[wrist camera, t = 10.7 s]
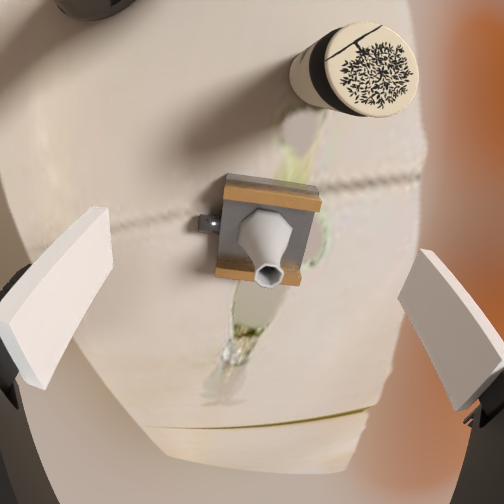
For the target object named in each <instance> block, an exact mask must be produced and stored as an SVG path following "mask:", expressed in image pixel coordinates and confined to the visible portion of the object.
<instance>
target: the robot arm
mask: <svg viewBox="0 0 504 504" xmlns="http://www.w3.org/2000/svg"><path fill="white" fill-rule="evenodd" d="M53 1H54V2H55V3H56V4H57V6H58V8H59V9H60V10H61V11H62V12H63V13H64V14H66V15H67V16H69V17H72V18H76V19H79V20H84V21H93V20H99V19H103V18H106V17H109V16H111V15H114V14H116V13H118V12H119V11H121V10H123V9H124V8H126V7H127V6H129V5H130V4H131V3H133V2H134V1H135V0H53ZM113 267H114V266H113V258H112V248H111V238H110V226H109V212H108V208H105V207H94V206H92V207H91V208H89V209H88V210H87V211H86V212H85V213H84V214H83V215H82V216H81V217H80V218H78V219H77V220H76V221H75V222H74V223H73V224H72V225H71V226H70V227H69V228H68V229H67V230H66V231H65V232H64V233H63V234H62V235H61V236H60V237H59V238H58V239H57V240H56V241H55V242H54V243H53V244H52V245H51V246H50V247H49V248H48V249H47V250H46V251H45V252H44V253H43V254H42V255H41V256H40V257H39V258H38V259H37V260H36V261H35V262H34V263H33V264H28V265H27V266H25V267H24V268H22V269H21V270H19V271H18V272H17V273H16V274H15V275H14V276H13V277H12V278H11V280H10V282H9V283H7V284H6V285H5V286H4V287H3V290H2V291H0V504H60V503H59V501H58V500H57V497H56V495H55V493H54V491H53V489H52V487H51V484H50V482H49V480H48V478H47V475H46V473H45V471H44V468H43V466H42V463H41V460H40V458H39V455H38V453H37V450H36V447H35V444H34V441H33V438H32V435H31V432H30V428H29V425H28V422H27V418H26V415H25V411H24V407H23V403H22V399H21V395H20V391H19V386H18V384H17V382H16V380H15V377H16V376H17V374H18V372H20V374H21V375H22V377H23V379H24V380H25V382H26V383H28V384H30V385H33V386H35V387H38V388H40V389H43V390H46V388H47V385H48V383H49V381H50V379H51V377H52V374H53V373H54V371H55V369H56V367H57V365H58V363H59V360H60V359H61V357H62V355H63V353H64V351H65V349H66V347H67V345H68V343H69V341H70V339H71V338H72V336H73V334H74V332H75V330H76V328H77V327H78V325H79V323H80V321H81V320H82V318H83V316H84V314H85V313H86V311H87V309H88V307H89V306H90V304H91V302H92V301H93V299H94V297H95V296H96V294H97V292H98V291H99V289H100V287H101V286H102V284H103V282H104V281H105V279H106V278H107V276H108V275H109V273H110V271H111V270H112V268H113ZM398 300H399V302H400V303H401V305H402V307H403V309H404V310H405V312H406V314H407V316H408V318H409V319H410V321H411V323H412V325H413V327H414V329H415V330H416V332H417V334H418V336H419V338H420V340H421V342H422V343H423V346H424V347H425V350H426V352H427V354H428V356H429V357H430V360H431V361H432V363H433V365H434V368H435V369H436V372H437V374H438V376H439V378H440V380H441V382H442V384H443V387H444V389H445V391H446V393H447V396H448V398H449V400H450V402H451V405H452V407H453V409H454V411H455V412H458V411H462V410H466V409H468V408H469V407H470V406H471V405H472V404H473V403H474V402H475V401H476V400H477V399H479V401H480V403H481V404H480V405H479V406H478V407H477V408H476V409H475V410H474V411H473V412H472V413H471V414H470V415H469V416H467V418H465V420H464V422H463V423H464V424H465V423H467V422H468V421H469V420H470V419H473V420H472V421H471V422H470V423H469V424H468V426H469V427H472V429H471V434H470V438H469V443H468V447H467V451H466V455H465V459H464V462H463V465H462V469H461V472H460V476H459V479H458V482H457V485H456V488H455V491H454V493H453V496H452V499H451V502H450V504H504V342H503V340H502V339H501V338H500V336H499V335H498V333H497V332H496V331H495V329H494V327H493V326H492V325H491V323H490V322H489V320H488V319H487V318H486V316H485V315H484V314H483V312H482V311H481V310H480V308H479V307H478V306H477V304H476V303H475V302H474V300H473V299H472V298H471V296H470V295H469V294H468V293H467V291H466V290H465V289H464V288H463V286H462V285H461V284H460V283H459V282H458V280H456V278H455V277H454V276H453V274H452V273H451V272H450V271H449V270H448V268H447V267H446V266H445V265H444V264H443V263H442V262H441V260H440V259H439V258H438V257H437V256H436V255H435V254H434V253H433V252H432V251H430V250H424V249H419V252H418V254H417V257H416V259H415V261H414V264H413V266H412V268H411V270H410V273H409V275H408V277H407V279H406V281H405V283H404V286H403V288H402V290H401V292H400V294H399V296H398Z"/></svg>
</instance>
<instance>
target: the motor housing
mask: <svg viewBox="0 0 504 504" xmlns="http://www.w3.org/2000/svg"><path fill="white" fill-rule="evenodd" d="M223 199H224V200H223V209H222V217H220V216H212V215H204V214H200V216H199V222H198V232H206V233H215V234H220V236H219V246H218V256H217V263H216V270H215V277H220V278H229V279H237V280H246V281H254V280H253V277H254V273H255V266H254V264H253V261H252V260H251V258H250V257H249V256H248V254H247V253H246V252H245V250H244V249H243V248H242V247H241V246H240V245H239V243H238V242H237V239H238V234H239V230H240V225H241V222H242V221H243V220H245V219H246V218H247V217H248V216H250V215H251V214H252V213H253V212H255V211H256V210H257V209H260V210H265V211H270V212H275V213H279V214H280V215H281V216H282V217H283V218H284V219H285V220H286V221H287V222H288V224H289V225H290V226H291V227H292V228H293V229H292V232H291V235H290V239H289V242H288V246H287V248H286V250H285V252H284V253H283V255H282V257H281V260H280V268H281V269H282V270H283V271H284V275H283V278H282V281H281V283H280V284H282V285H292V286H299V285H300V282H301V273H300V267H301V263H302V259H303V255H304V252H305V248H306V244H307V240H308V236H309V232H310V229H311V224H312V221H313V217H314V213H315V212H319V211H320V207H321V203H322V201H321V199H320V198H319V191H318V189H317V188H316V186H310V185H304V184H298V183H292V182H286V181H280V180H273V179H266V178H259V177H252V176H244V175H237V174H228V173H227V177H226V183H225V187H224V195H223Z"/></svg>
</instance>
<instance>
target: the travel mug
mask: <svg viewBox="0 0 504 504" xmlns="http://www.w3.org/2000/svg"><path fill="white" fill-rule="evenodd" d="M289 79H290V84H291V86H292V89H293V90H294V92H295V93H296V95H297V96H298V97H299V98H300V99H302V100H303V101H305V102H306V103H308V104H310V105H314V106H318V107H322V108H326V109H331V110H335V111H339V112H342V113H346V114H350V115H354V116H361V117H367V116H369V117H377V118H382V117H389V116H392V115H395V114H397V113H399V112H401V111H402V110H403V109H405V108H406V107H407V106H408V105H409V104H410V102H411V101H412V99H413V98H414V96H415V93H416V91H417V87H418V80H419V73H418V67H417V63H416V59H415V57H414V55H413V53H412V51H411V49H410V48H409V46H408V45H407V43H406V42H405V41H404V40H403V39H402V38H401V37H400V36H399V35H398V34H396V33H395V32H394V31H392V30H391V29H389V28H387V27H385V26H382V25H380V24H376V23H371V22H357V23H353V24H350V25H347V26H345V27H342V28H338V29H336V30H333V31H331V32H330V33H328V34H327V35H325V36H324V37H322V38H321V39H320V40H318V41H317V42H315V43H314V44H313V45H311V46H310V47H308V48H307V49H306V50H304V51H303V52H302V53H300V54H299V55H298V56H297V57H296V58H295V59H294V60H293V62H292V64H291V67H290V71H289Z"/></svg>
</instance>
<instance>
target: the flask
mask: <svg viewBox="0 0 504 504" xmlns="http://www.w3.org/2000/svg"><path fill="white" fill-rule="evenodd" d="M292 229H293V228H292V227H291V226H290V225H289V224H288V222H287V221H286V220H285V219H284V218H283V217H282V216H281V215H280V214H279V213H275V212H270V211H265V210H260V209H257V210H256V211H255V212H253V213H252V214H251V215H250V216H248V217H247V218H246V219H245V220H243V221H242V222H241V225H240V230H239V234H238V239H237V242H238V243H239V245H240V246H241V247H242V248H243V249H244V250H245V252H246V253H247V254H248V256H249V257H250V258H251V260H252V261H253V264H254V266H255V273H254V277H253V280H254V281H255V282H256V283H257V284H258V285H259V286H260V287H265V288H271V289H272V288H274V287H275V286H277V285H278V284H280V283H281V281H282V278H283V275H284V271H283V270H282V269H281V268H280V260H281V257H282V255H283V253H284V252H285V250H286V248H287V246H288V242H289V239H290V235H291V232H292Z"/></svg>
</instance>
